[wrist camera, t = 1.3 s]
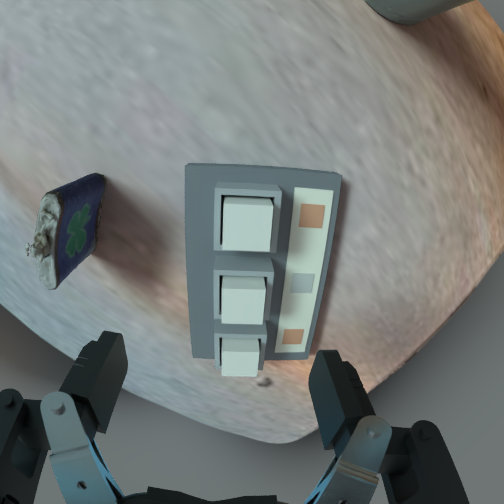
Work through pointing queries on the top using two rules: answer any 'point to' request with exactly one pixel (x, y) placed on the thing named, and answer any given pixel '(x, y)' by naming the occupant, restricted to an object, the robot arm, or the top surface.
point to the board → (259, 255)
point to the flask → (67, 228)
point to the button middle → (243, 299)
